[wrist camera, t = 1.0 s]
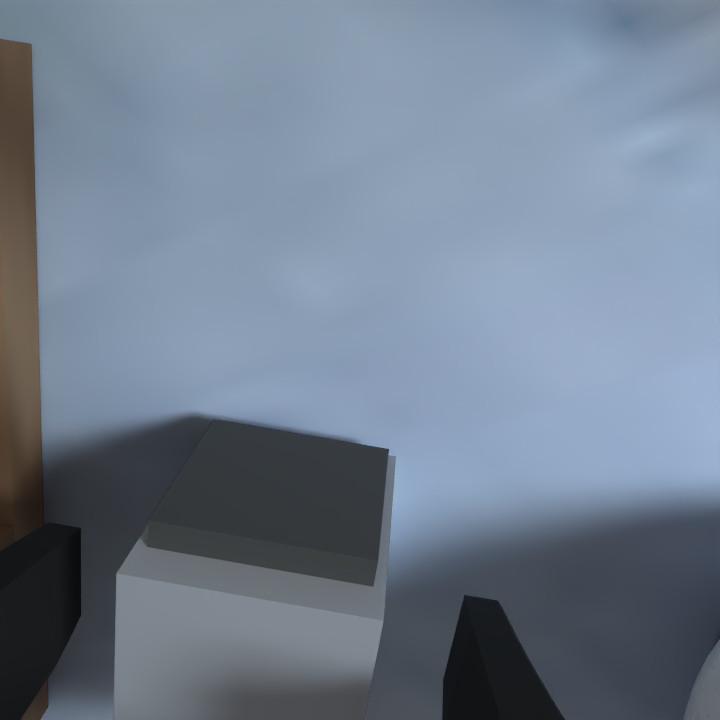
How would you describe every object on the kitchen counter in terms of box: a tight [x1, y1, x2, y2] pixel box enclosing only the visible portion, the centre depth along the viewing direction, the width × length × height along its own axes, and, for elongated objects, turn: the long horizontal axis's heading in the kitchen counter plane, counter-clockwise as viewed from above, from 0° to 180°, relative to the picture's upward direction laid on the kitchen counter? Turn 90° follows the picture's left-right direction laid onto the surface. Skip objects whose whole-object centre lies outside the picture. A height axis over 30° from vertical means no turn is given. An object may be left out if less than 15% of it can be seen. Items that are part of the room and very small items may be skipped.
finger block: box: [113, 419, 396, 720], centre depth 13 cm, size 4×4×5 cm
